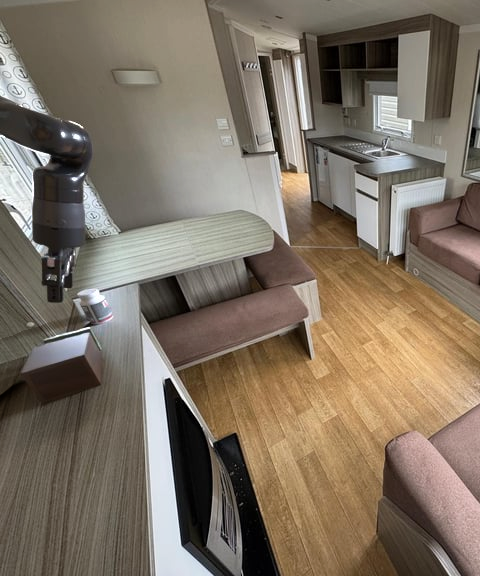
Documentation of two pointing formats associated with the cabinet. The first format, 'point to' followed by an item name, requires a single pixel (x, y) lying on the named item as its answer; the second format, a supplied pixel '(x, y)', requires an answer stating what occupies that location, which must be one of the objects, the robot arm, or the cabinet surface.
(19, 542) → the cabinet surface
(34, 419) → the cabinet surface
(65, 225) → the robot arm
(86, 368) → the cabinet
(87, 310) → the pill bottle
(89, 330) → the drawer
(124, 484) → the cabinet surface
